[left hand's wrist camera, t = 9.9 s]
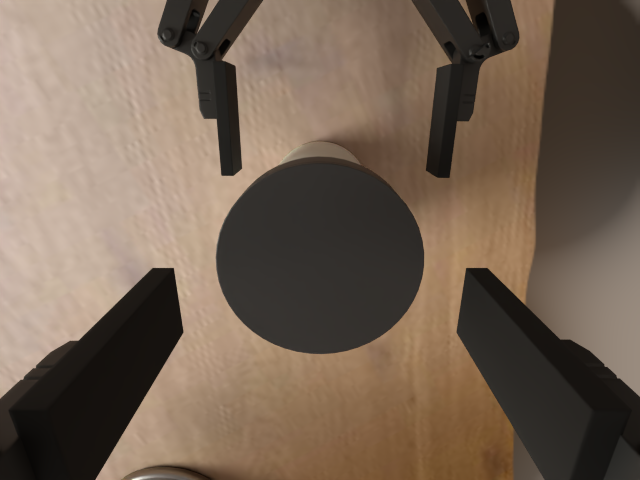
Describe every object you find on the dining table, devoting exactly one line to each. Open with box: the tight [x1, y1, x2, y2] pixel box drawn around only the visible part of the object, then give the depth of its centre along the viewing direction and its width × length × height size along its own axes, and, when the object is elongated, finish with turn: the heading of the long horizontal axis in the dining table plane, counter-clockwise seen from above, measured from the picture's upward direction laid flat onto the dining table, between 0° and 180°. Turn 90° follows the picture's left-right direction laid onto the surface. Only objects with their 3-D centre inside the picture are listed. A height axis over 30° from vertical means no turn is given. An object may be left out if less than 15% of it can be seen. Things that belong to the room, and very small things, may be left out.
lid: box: [216, 156, 424, 354], centre depth 17 cm, size 9×9×2 cm
